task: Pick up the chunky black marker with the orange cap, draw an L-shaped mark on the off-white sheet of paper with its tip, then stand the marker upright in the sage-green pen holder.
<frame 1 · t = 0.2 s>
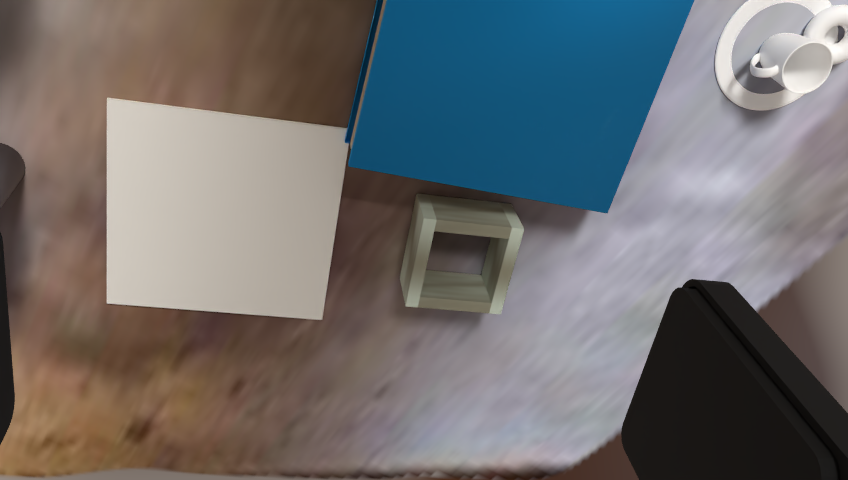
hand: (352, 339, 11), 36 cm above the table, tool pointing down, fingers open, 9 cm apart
paper: (224, 218, 50), on the table
pen holder: (454, 241, 53), on the table
teacup and saucer: (794, 78, 51), on the table
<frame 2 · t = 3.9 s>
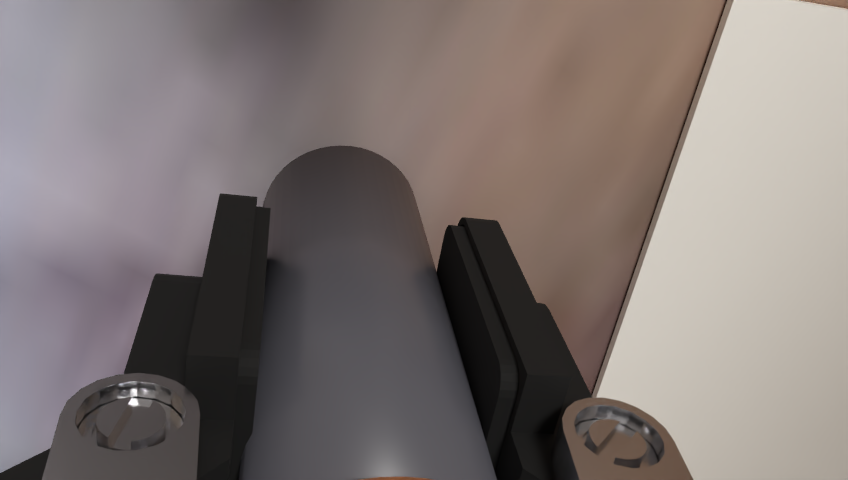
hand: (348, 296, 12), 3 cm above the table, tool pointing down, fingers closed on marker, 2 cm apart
marker: (340, 217, 14), on the table, touching gripper
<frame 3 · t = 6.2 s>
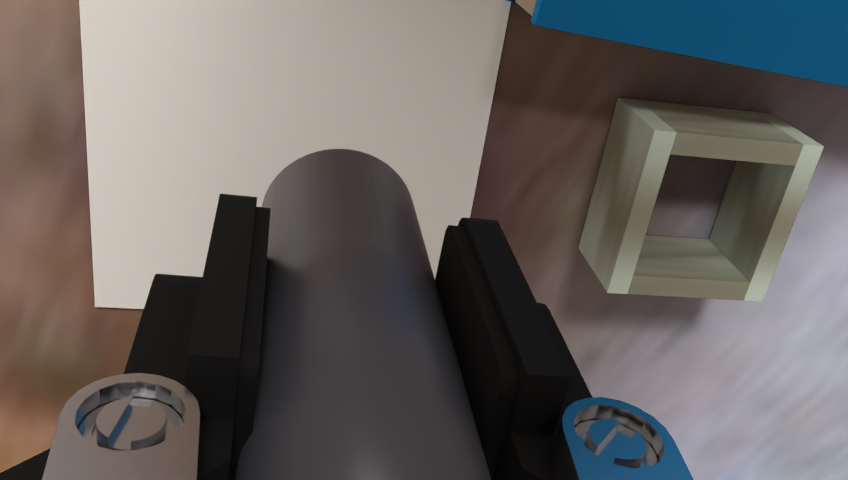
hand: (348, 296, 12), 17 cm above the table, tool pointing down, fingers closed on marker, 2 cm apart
paper: (292, 150, 29), on the table
marker: (338, 220, 15), point 14 cm above the table, touching gripper
pen holder: (672, 182, 32), on the table
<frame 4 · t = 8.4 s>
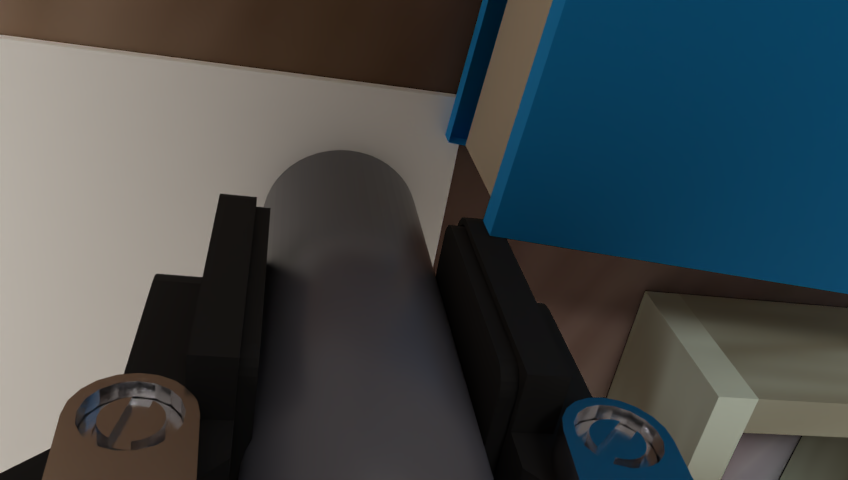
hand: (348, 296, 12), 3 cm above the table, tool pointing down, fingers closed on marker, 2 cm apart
paper: (69, 378, 16), on the table
marker: (340, 221, 15), point 1 cm above the table, touching gripper
pen holder: (726, 411, 19), on the table
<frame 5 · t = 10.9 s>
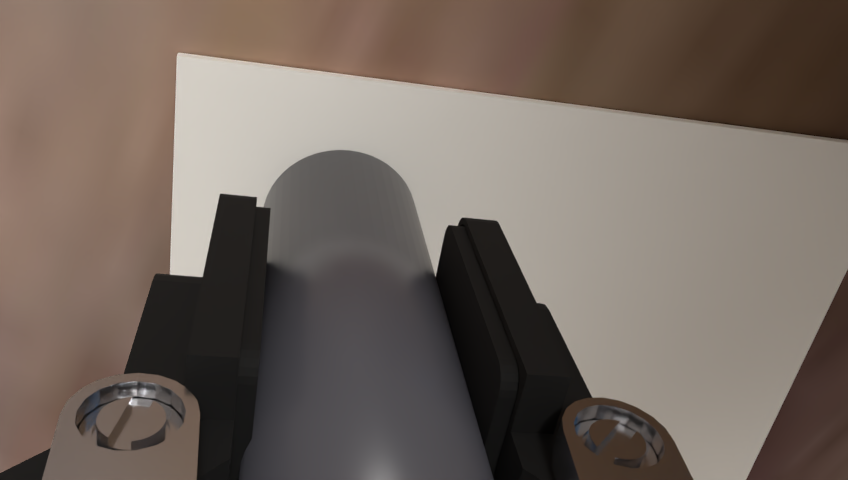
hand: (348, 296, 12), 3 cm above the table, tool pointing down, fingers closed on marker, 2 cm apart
paper: (492, 401, 18), on the table
marker: (340, 221, 15), point 1 cm above the table, touching gripper
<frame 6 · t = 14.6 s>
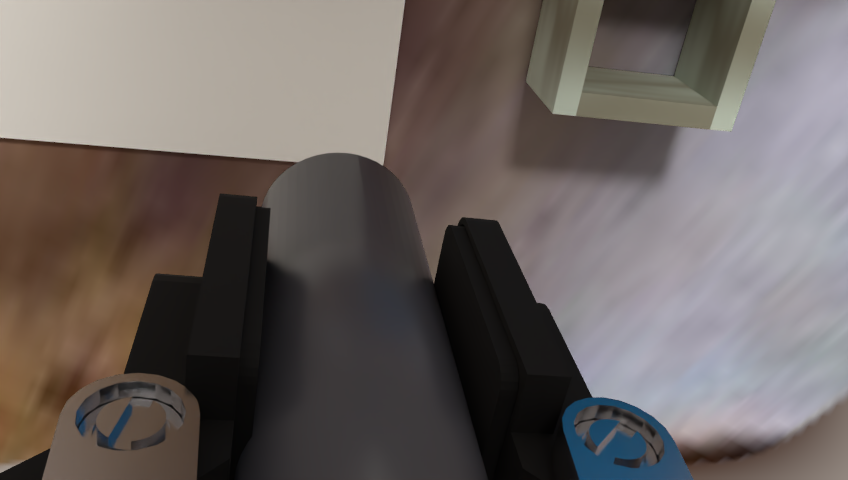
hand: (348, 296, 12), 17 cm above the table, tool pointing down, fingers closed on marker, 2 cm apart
marker: (337, 223, 15), point 14 cm above the table, touching gripper
pen holder: (631, 2, 28), on the table
when the fingers open (5 cm above the table, at t = 17.9 s): marker drops 2 cm, resting in pen holder.
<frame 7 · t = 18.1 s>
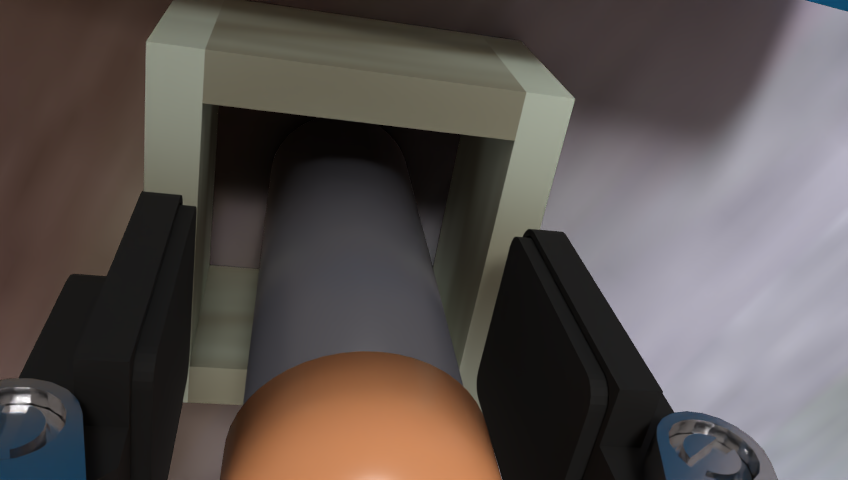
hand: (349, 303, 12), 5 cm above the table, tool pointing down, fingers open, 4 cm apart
marker: (339, 179, 16), resting in pen holder
pen holder: (336, 173, 16), on the table
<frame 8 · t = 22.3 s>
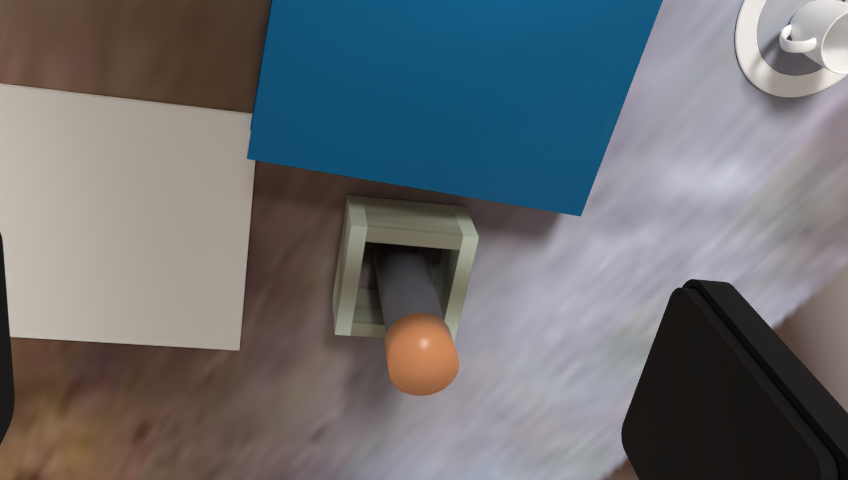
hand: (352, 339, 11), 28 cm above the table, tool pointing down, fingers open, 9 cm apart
paper: (108, 227, 40), on the table
marker: (399, 255, 43), resting in pen holder
pen holder: (398, 253, 43), on the table
teacup and saucer: (830, 59, 42), on the table
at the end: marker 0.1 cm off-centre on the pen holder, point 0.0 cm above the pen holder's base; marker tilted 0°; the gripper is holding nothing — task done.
